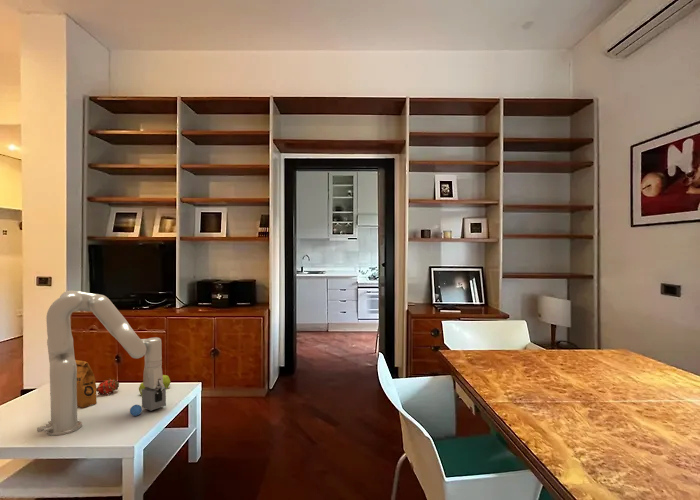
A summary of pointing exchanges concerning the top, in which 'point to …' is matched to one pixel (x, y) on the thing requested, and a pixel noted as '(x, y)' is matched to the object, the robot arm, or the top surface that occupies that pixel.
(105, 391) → the dragon fruit
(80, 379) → the coffee package
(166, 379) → the dumbbell
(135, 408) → the ball
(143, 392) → the grey square block
